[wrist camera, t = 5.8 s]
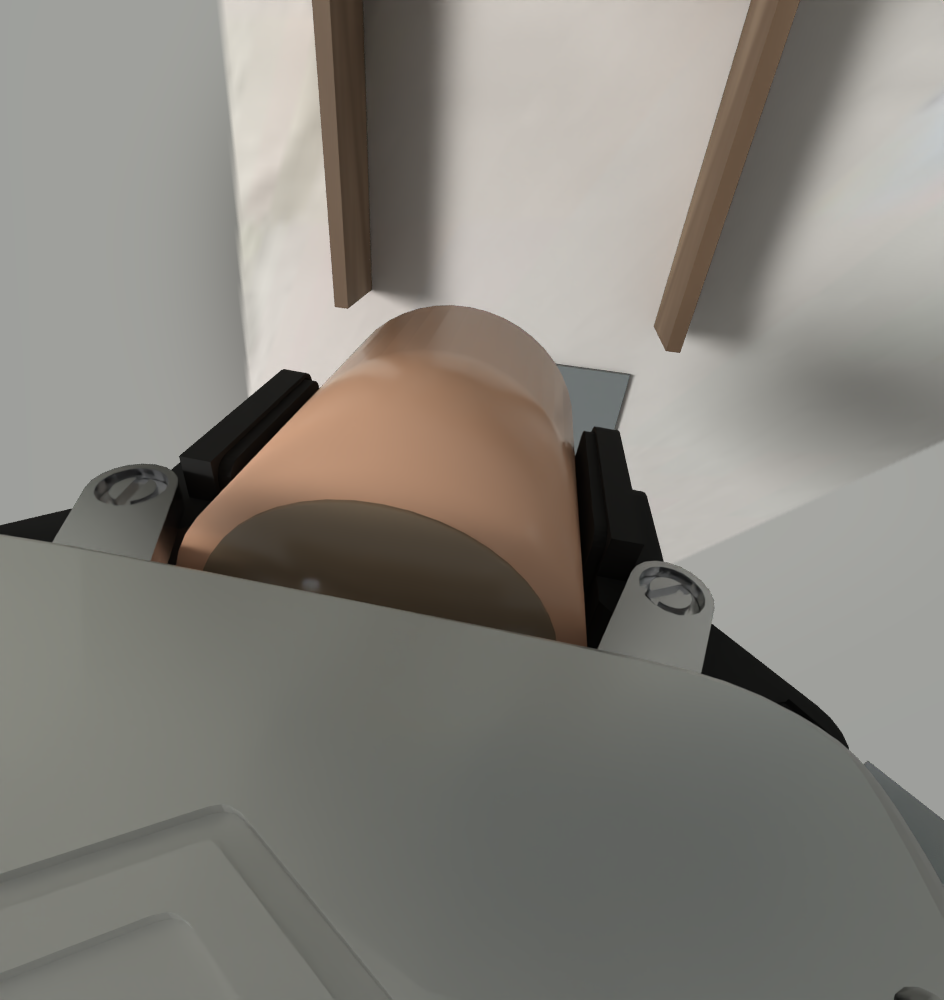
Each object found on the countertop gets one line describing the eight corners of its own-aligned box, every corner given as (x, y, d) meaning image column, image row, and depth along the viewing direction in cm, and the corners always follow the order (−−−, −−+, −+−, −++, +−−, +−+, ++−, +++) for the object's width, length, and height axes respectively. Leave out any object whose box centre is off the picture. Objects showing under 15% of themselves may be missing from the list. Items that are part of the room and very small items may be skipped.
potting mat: (629, 374, 26) (629, 375, 26) (589, 511, 31) (590, 513, 31) (382, 340, 27) (381, 341, 26) (385, 480, 32) (384, 481, 32)
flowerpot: (602, 331, 11) (653, 532, 5) (543, 534, 15) (536, 786, 9) (338, 283, 11) (118, 430, 6) (344, 496, 15) (211, 719, 9)
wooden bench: (828, -188, 15) (2387, -2101, 2) (666, 327, 24) (783, 542, 11) (337, -218, 16) (-562, -1642, 3) (360, 288, 25) (149, 443, 12)
